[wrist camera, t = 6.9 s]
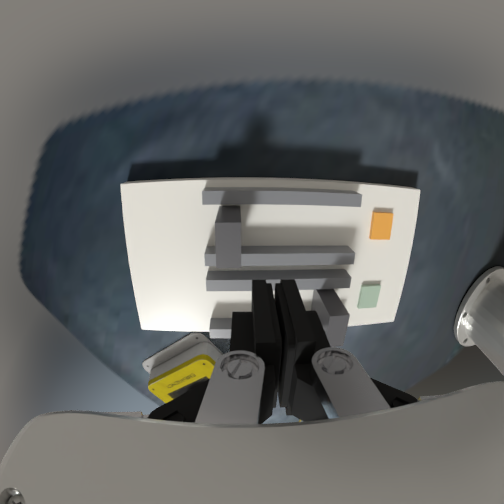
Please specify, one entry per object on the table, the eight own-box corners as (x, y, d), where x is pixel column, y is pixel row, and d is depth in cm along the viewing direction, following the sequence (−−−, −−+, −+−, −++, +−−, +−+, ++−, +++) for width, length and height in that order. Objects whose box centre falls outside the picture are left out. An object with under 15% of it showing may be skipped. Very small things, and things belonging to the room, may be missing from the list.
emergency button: (193, 354, 24) (280, 425, 29) (198, 326, 29) (276, 399, 33) (130, 386, 26) (219, 447, 31) (140, 360, 30) (219, 423, 35)
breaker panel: (411, 187, 24) (431, 193, 21) (387, 314, 29) (400, 330, 26) (126, 181, 23) (111, 187, 19) (145, 320, 28) (137, 340, 24)
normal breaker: (331, 284, 25) (350, 315, 20) (326, 313, 26) (342, 345, 21) (314, 285, 25) (330, 316, 20) (310, 313, 26) (324, 347, 21)
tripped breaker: (240, 205, 22) (241, 222, 17) (240, 242, 23) (241, 267, 18) (219, 205, 22) (214, 222, 17) (220, 242, 23) (216, 268, 18)
